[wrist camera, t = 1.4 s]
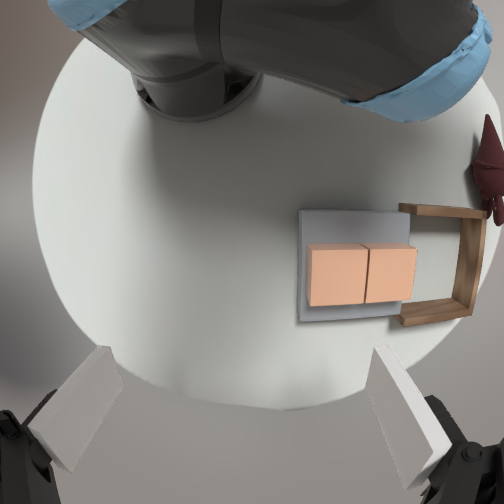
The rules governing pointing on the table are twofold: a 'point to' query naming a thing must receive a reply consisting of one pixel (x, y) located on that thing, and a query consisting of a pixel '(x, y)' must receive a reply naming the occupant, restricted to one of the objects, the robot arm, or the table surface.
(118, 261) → the table surface
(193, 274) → the table surface
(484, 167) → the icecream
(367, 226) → the board
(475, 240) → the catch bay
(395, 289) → the tile
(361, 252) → the tile
